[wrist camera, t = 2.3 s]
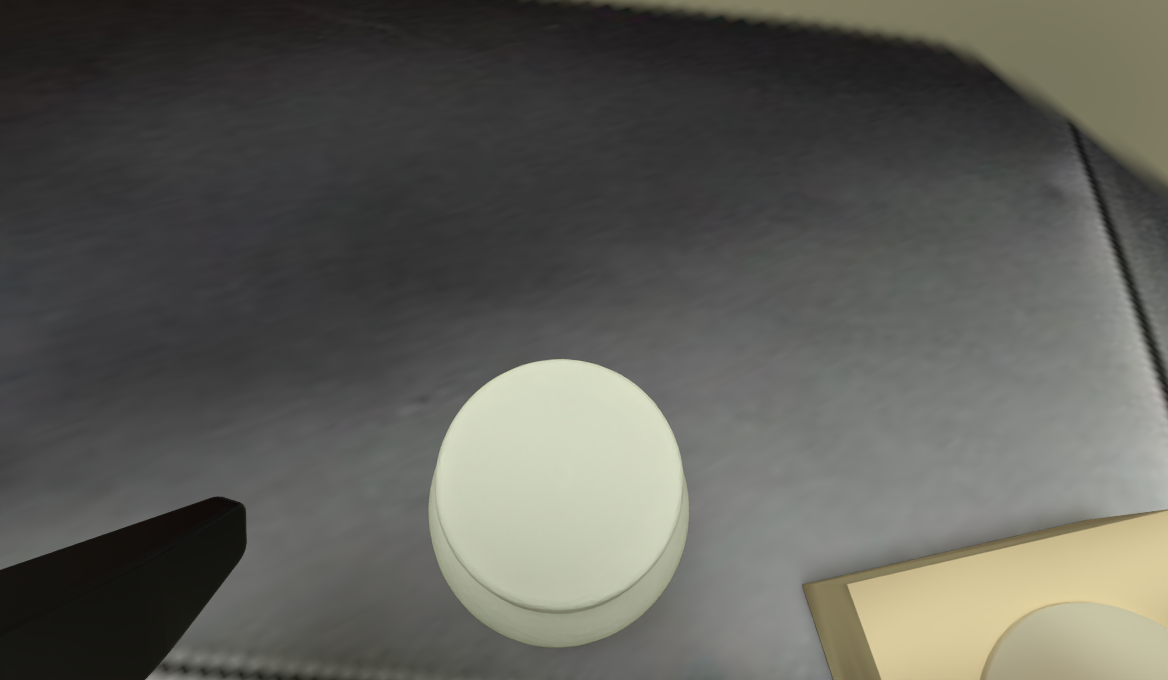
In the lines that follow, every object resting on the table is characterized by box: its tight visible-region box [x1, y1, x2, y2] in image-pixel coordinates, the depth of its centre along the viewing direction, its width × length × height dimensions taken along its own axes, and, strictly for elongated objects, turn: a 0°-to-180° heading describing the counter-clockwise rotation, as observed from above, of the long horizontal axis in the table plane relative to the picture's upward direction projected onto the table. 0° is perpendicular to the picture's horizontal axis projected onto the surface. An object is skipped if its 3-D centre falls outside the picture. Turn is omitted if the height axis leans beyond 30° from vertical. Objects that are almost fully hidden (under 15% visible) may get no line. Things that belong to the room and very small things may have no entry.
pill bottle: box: [429, 359, 689, 648], centre depth 13 cm, size 5×5×10 cm
